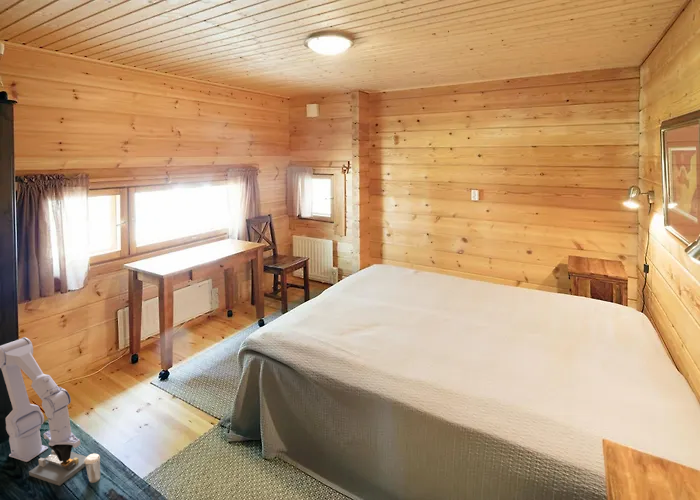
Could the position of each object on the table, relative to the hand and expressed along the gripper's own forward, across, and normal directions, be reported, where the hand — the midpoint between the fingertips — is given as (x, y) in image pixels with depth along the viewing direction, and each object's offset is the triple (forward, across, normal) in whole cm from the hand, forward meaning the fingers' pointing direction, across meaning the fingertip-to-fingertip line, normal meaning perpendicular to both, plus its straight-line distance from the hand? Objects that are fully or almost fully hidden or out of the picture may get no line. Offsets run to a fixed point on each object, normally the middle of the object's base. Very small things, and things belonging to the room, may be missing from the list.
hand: (64, 459), depth 144 cm
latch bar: (+2, -3, 0) cm, 4 cm away
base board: (+4, -2, 0) cm, 5 cm away
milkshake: (+4, +14, 0) cm, 14 cm away
